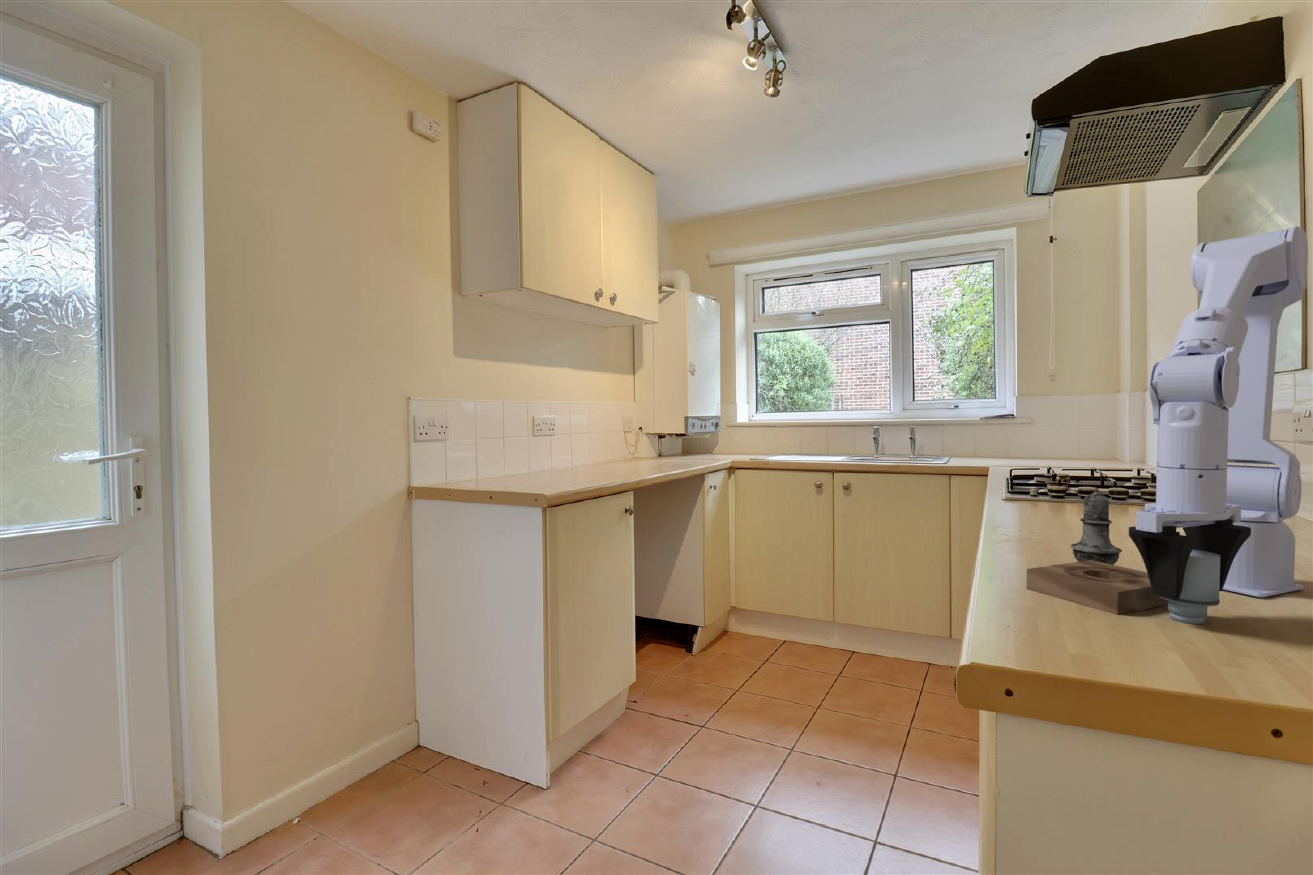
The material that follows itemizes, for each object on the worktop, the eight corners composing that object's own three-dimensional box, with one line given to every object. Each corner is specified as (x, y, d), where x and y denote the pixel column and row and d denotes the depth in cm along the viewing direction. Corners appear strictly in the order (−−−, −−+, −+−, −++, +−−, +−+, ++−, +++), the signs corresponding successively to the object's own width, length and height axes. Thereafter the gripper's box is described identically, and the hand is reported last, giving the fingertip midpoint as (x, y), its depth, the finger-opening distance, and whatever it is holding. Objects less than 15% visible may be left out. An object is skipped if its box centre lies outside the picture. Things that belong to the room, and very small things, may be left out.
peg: (1175, 609, 70) (1176, 546, 70) (1230, 624, 65) (1232, 555, 65) (1145, 615, 68) (1147, 550, 68) (1200, 630, 63) (1202, 560, 63)
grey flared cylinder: (1131, 579, 82) (1132, 490, 82) (1082, 578, 83) (1083, 489, 83) (1107, 568, 88) (1108, 485, 88) (1061, 567, 89) (1063, 484, 89)
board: (1090, 578, 83) (1090, 559, 83) (1184, 601, 73) (1185, 580, 73) (1026, 588, 79) (1026, 568, 79) (1117, 614, 69) (1117, 592, 68)
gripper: (1189, 462, 72) (1186, 576, 73) (1106, 467, 67) (1104, 590, 68) (1266, 466, 66) (1262, 592, 66) (1181, 472, 60) (1178, 609, 61)
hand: (1187, 592), depth 66 cm, fingers open, 7 cm apart
